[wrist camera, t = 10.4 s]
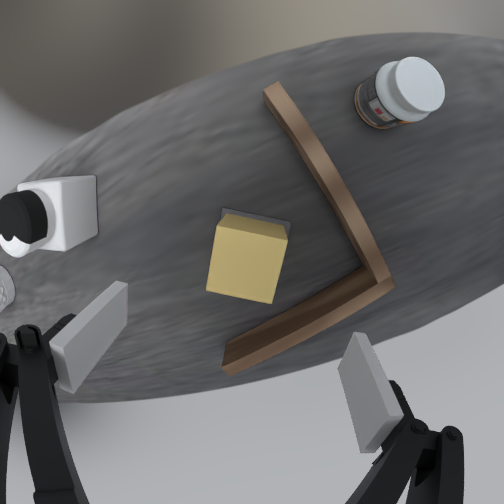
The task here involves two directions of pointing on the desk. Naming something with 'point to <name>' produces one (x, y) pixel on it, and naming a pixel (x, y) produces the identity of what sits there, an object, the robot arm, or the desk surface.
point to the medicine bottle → (49, 215)
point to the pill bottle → (400, 93)
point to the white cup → (6, 288)
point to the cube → (246, 258)
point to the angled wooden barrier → (338, 294)
